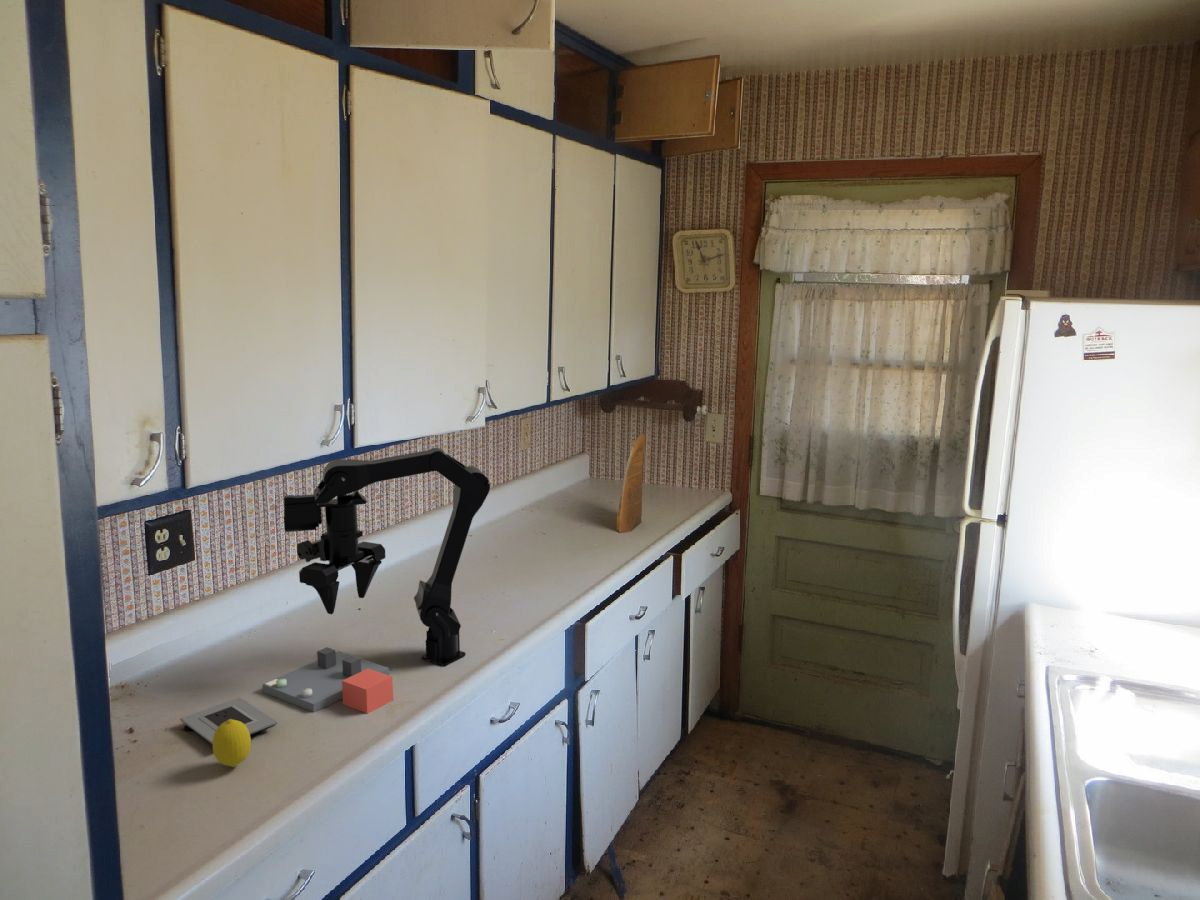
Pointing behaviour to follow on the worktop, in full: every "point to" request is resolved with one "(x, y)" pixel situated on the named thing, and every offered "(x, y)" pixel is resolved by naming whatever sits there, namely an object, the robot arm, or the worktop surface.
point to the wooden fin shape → (632, 489)
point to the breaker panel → (315, 683)
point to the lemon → (231, 743)
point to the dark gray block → (326, 657)
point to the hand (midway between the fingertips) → (346, 605)
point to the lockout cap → (367, 690)
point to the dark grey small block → (351, 666)
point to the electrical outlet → (235, 710)
